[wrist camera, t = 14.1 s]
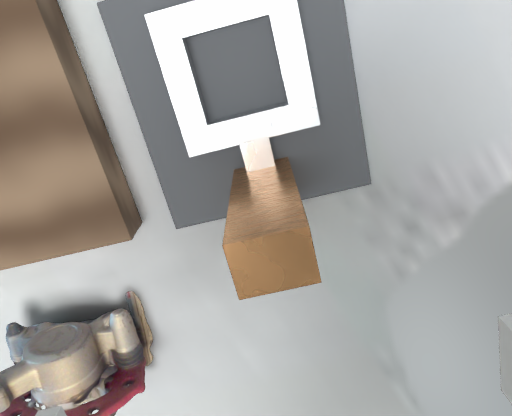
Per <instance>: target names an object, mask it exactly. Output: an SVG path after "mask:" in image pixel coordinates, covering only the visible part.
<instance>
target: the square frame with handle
mask: <svg viewBox="0 0 512 416" xmlns="http://www.w3.org/2000/svg"><path fill="white" fill-rule="evenodd" d="M265 16H269V21H270V25H271V30H272V35H273V39H274V44H275V48H276V53H277V58H278V62H279V67H280V72H281V76H282V81H283V86H284V90H285V95H286V100H287V102H285V103H281V104H277V105H273V106H269V107H265V108H261V109H257V110H253V111H249V112H245V113H241V114H238V115H234V116H230V117H226V118H222V119H218V120H214V121H210V122H209V119H208V115H207V112H206V109H205V105H204V102H203V98H202V95H201V91H200V88H199V84H198V81H197V77H196V74H195V70H194V67H193V64H192V60H191V57H190V53H189V50H188V46H187V43H186V39H185V38H188V37H191V36H195V35H199V34H202V33H206V32H210V31H213V30H217V29H221V28H224V27H228V26H232V25H235V24H239V23H243V22H246V21H250V20H254V19H257V18H261V17H265ZM145 18H146V21H147V24H148V28H149V31H150V34H151V37H152V40H153V43H154V47H155V50H156V53H157V56H158V59H159V62H160V66H161V69H162V72H163V75H164V78H165V81H166V84H167V88H168V91H169V94H170V97H171V100H172V103H173V107H174V110H175V113H176V116H177V119H178V122H179V125H180V129H181V132H182V135H183V138H184V141H185V144H186V148H187V151H188V154H189V157H192V156H196V155H200V154H204V153H208V152H212V151H216V150H220V149H225V148H229V147H233V146H237V145H240V148H241V152H242V156H243V160H244V163H245V167H243V168H239V169H235V170H234V172H233V179H232V185H231V192H230V199H229V205H228V212H227V218H226V225H225V232H224V238H223V245H222V246H223V249H224V253H225V256H226V259H227V262H228V265H229V269H230V272H231V275H232V278H233V281H234V285H235V288H236V291H237V294H238V297H239V300H242V299H246V298H251V297H256V296H260V295H265V294H270V293H274V292H279V291H284V290H289V289H293V288H298V287H303V286H307V285H312V284H317V283H321V278H320V273H319V269H318V264H317V260H316V255H315V251H314V246H313V242H312V237H311V232H310V228H309V224H308V221H307V218H306V214H305V211H304V208H303V204H302V201H301V198H300V195H299V191H298V188H297V185H296V181H295V178H294V175H293V172H292V168H291V165H290V162H289V159H288V157H285V158H280V159H276V160H274V157H273V152H272V148H271V144H270V140H269V137H273V136H277V135H281V134H285V133H289V132H293V131H297V130H302V129H306V128H310V127H314V126H318V125H320V120H319V115H318V110H317V104H316V99H315V94H314V89H313V83H312V78H311V73H310V67H309V62H308V57H307V51H306V46H305V41H304V36H303V30H302V25H301V20H300V14H299V9H298V4H297V0H195V1H192V2H188V3H185V4H181V5H177V6H174V7H170V8H167V9H163V10H160V11H156V12H152V13H149V14H145Z"/></svg>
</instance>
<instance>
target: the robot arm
mask: <svg viewBox="0 0 512 416" xmlns="http://www.w3.org/2000/svg"><path fill="white" fill-rule="evenodd" d="M498 330H499V350H500V351H499V353H500V375H501V390H502V392H503V393H504V395H505V396H506V397H507V399H508V400H509V401H510V403H511V404H512V313H511V314H507V315H501V316H498ZM35 416H67V415H66V413H65V411H64V410H63V408H62V406H58V407H53V408H48V409H44V410H39V411H38V412H37V413H36V415H35Z"/></svg>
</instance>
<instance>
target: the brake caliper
mask: <svg viewBox="0 0 512 416" xmlns="http://www.w3.org/2000/svg"><path fill="white" fill-rule="evenodd" d="M126 299H127V302H128V306H129V309H130V311H131V313H129V312H128V311H127V310H125V309H116V310H114V311H110V312H107V313H105V314H103V315H101V316H100V317H98V318H97V319H93V320H86V321H82V322H80V323H79V322H66V323H50V322H43V323H40V324H36V325H32V326H30V327H24V326H21V325H19V324H18V323H15V322H14V323H10V324H8V325H7V327H6V330H7V333H6V341H7V344H8V347H9V349H10V357H11V359H12V361H13V362H14V364H15V365H14V366H12V367H9V368H7V369H5V370H3V371H1V372H0V416H18V415H20V414H21V415H20V416H35V415H36V413H37V412H38V411H39V410H42V409H41V406H42V405H45V406H46V409H48V408H53V407H58V406H62V408H63V410H64V411H65V413H66V415H67V416H114V415H115V414H116V412H117V410H118V409H119V408H121V407H122V406H124V405H125V404H126V403H127V402H128V401H130V400H131V399H132V397H133V396H135V395H136V394H138V393H142V392H144V390H145V382H144V381H145V366H148V365H149V364H150V363H151V362H152V360H153V355H152V354H151V353H150V346H151V344H152V342H153V337H152V333H151V330H150V328H149V325H148V324H147V322H146V318H145V316H144V309H143V306H142V304H141V302H140V299H139V298H138V297H137V296H136V295H135V293H134V292H133V291H129V292H127V293H126ZM25 399H31V401H29V402H26V401H25ZM36 402H37V403H38V404H39V407H36V405H35V404H36ZM85 402H87V403H85ZM83 403H85V404H83ZM80 404H81V405H80ZM96 409H97V410H99V411H98V412H97V413H95V414H92V412H93V411H94V410H96Z"/></svg>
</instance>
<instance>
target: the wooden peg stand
mask: <svg viewBox="0 0 512 416" xmlns="http://www.w3.org/2000/svg"><path fill="white" fill-rule="evenodd" d="M141 224H142V221H141V218H140V215H139V213H138V210H137V208H136V205H135V202H134V200H133V197H132V195H131V192H130V189H129V187H128V184H127V182H126V179H125V176H124V174H123V171H122V169H121V166H120V163H119V161H118V158H117V156H116V153H115V150H114V148H113V145H112V143H111V140H110V137H109V135H108V132H107V130H106V127H105V124H104V122H103V119H102V117H101V114H100V111H99V109H98V106H97V104H96V101H95V98H94V96H93V93H92V91H91V88H90V85H89V83H88V80H87V78H86V75H85V72H84V70H83V67H82V65H81V62H80V59H79V57H78V54H77V52H76V49H75V46H74V44H73V41H72V39H71V36H70V33H69V31H68V28H67V26H66V23H65V20H64V18H63V15H62V13H61V10H60V7H59V5H58V2H57V0H0V270H4V269H8V268H13V267H17V266H21V265H26V264H30V263H34V262H39V261H43V260H47V259H52V258H56V257H60V256H65V255H69V254H73V253H77V252H82V251H86V250H90V249H95V248H99V247H103V246H108V245H112V244H116V243H121V242H125V241H129V240H132V238H133V237H134V235H135V234H136V232H137V230H138V229H139V227H140V225H141Z"/></svg>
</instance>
